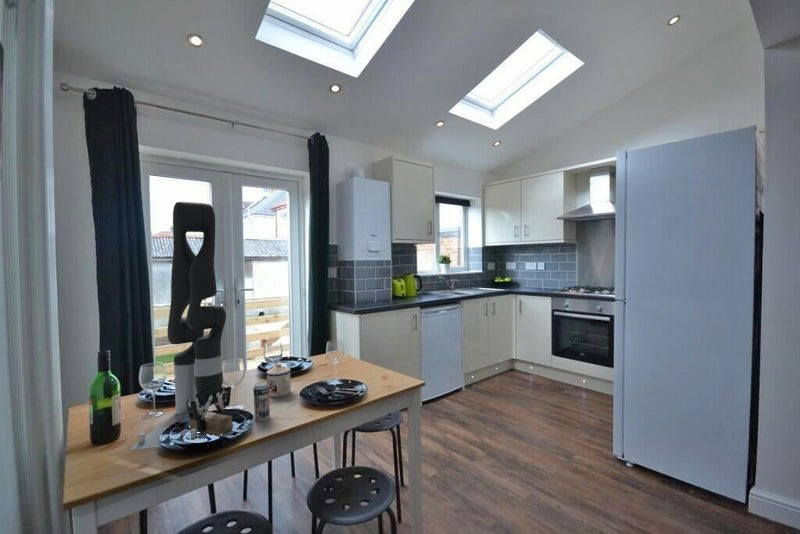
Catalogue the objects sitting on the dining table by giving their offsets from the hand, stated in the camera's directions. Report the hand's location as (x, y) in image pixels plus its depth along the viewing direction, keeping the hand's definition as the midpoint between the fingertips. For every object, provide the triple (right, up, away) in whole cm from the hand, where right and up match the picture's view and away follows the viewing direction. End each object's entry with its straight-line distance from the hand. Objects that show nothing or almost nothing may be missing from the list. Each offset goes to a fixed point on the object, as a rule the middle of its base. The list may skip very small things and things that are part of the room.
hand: (211, 426), depth 109 cm
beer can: (+13, -2, +8) cm, 15 cm away
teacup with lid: (+11, -1, +32) cm, 33 cm away
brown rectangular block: (0, -1, 0) cm, 1 cm away
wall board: (-6, -2, -3) cm, 7 cm away
